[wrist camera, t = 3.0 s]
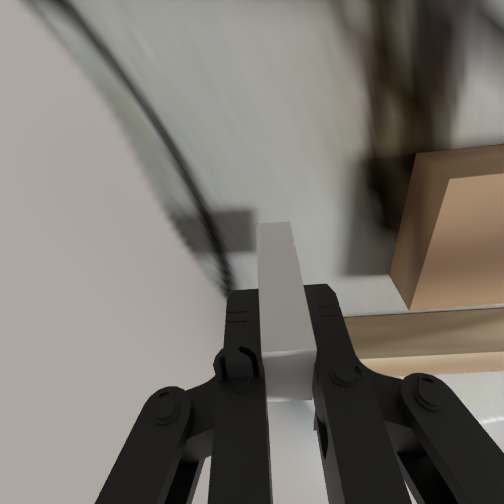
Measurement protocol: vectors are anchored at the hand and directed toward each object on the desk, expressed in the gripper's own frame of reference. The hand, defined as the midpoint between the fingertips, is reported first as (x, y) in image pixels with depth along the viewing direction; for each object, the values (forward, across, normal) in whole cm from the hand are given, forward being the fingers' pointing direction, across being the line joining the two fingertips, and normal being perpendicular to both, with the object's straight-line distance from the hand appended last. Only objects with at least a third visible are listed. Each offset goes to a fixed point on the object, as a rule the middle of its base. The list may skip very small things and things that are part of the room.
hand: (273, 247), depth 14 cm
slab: (+2, +10, 0) cm, 10 cm away
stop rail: (+1, +10, -8) cm, 13 cm away
